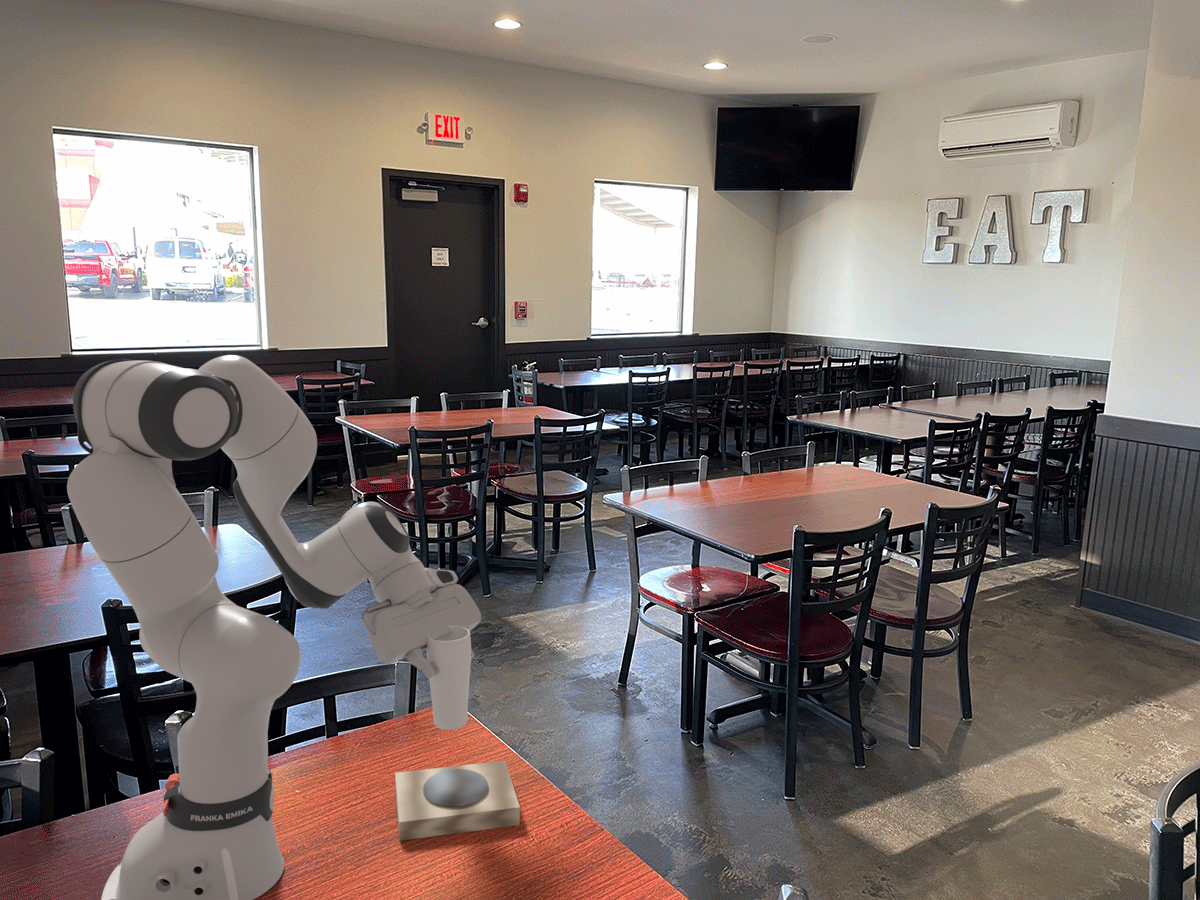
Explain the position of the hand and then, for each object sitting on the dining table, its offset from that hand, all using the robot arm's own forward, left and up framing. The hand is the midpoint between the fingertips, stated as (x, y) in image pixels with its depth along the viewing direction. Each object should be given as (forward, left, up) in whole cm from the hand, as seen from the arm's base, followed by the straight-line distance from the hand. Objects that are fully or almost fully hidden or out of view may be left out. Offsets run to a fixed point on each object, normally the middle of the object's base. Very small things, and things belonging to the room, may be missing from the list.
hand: (452, 667), depth 136 cm
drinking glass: (0, 0, -10) cm, 10 cm away
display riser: (0, -2, -23) cm, 23 cm away
